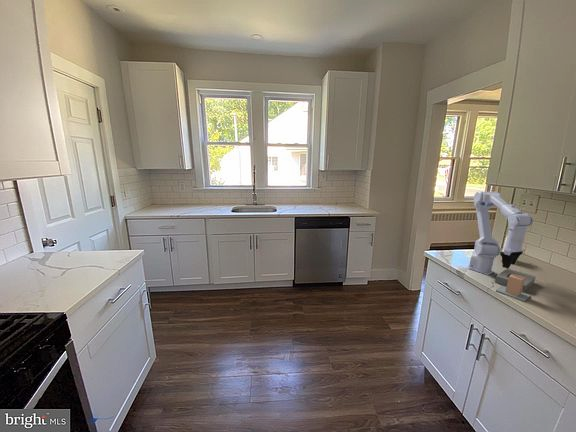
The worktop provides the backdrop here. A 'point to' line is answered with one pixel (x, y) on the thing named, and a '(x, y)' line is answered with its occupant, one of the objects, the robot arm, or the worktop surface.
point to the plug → (515, 284)
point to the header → (504, 275)
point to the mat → (521, 297)
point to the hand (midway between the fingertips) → (508, 265)
